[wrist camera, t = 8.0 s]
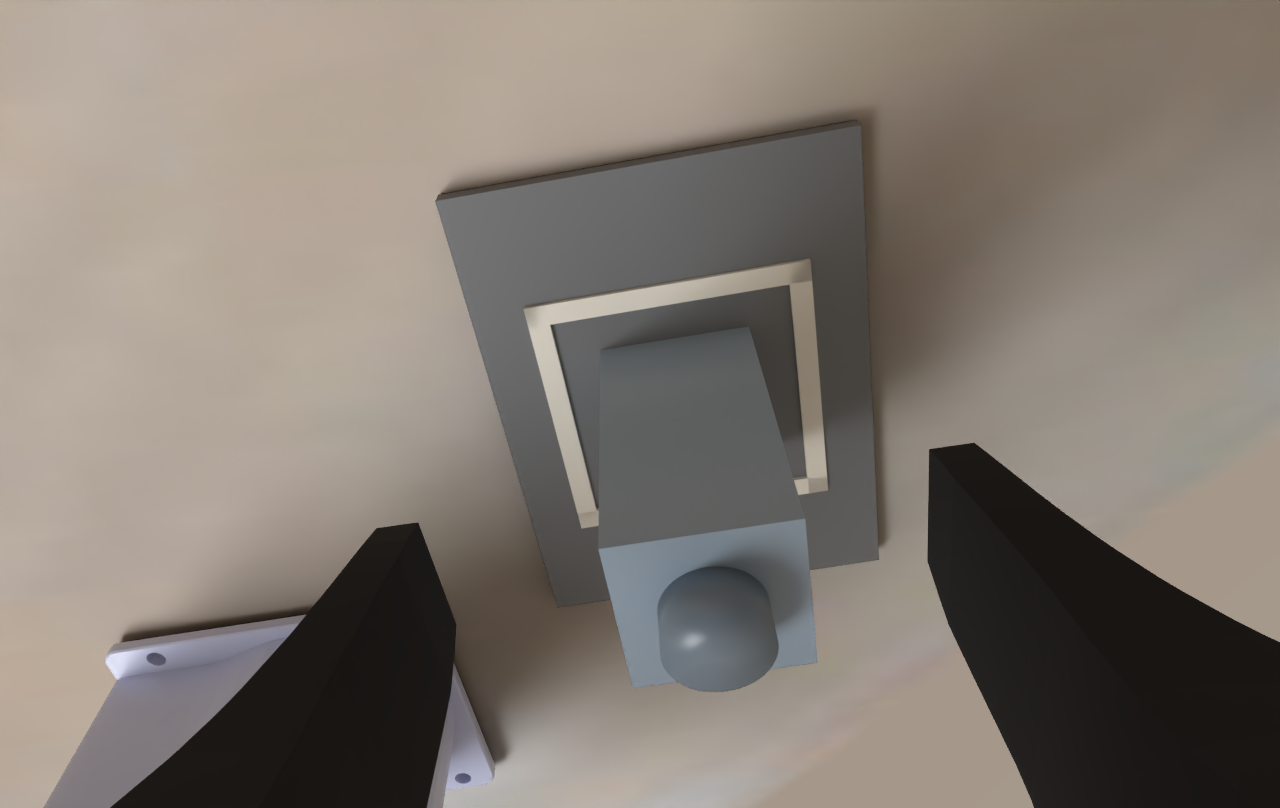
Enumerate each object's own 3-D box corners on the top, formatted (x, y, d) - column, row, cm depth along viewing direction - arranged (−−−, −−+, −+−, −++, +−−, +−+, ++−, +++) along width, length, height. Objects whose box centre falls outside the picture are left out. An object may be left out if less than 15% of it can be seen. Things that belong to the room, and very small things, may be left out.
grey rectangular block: (625, 469, 23) (634, 732, 16) (600, 350, 21) (597, 590, 15) (762, 448, 23) (828, 706, 16) (748, 326, 21) (816, 559, 14)
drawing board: (558, 597, 26) (557, 609, 26) (438, 194, 20) (434, 203, 19) (875, 549, 25) (879, 562, 25) (856, 119, 19) (862, 126, 19)
